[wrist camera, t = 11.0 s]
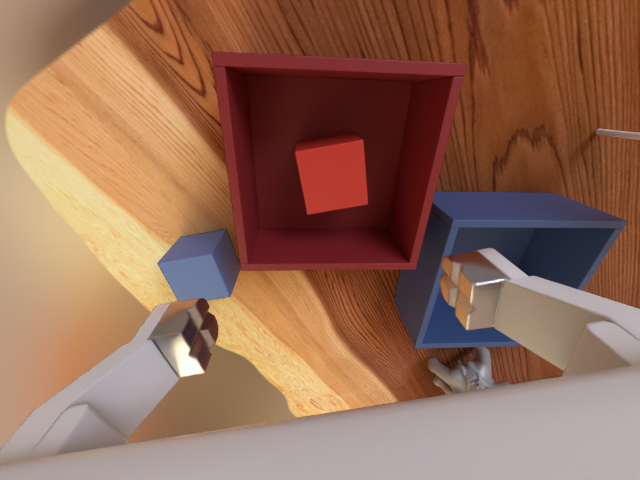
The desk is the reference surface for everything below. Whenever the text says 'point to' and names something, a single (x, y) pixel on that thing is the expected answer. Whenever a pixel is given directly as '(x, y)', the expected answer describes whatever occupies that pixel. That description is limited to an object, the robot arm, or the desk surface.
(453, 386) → the grey animal figurine
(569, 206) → the blue bin
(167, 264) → the blue block
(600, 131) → the lollipop
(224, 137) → the red bin
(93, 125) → the desk surface
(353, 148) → the red block
